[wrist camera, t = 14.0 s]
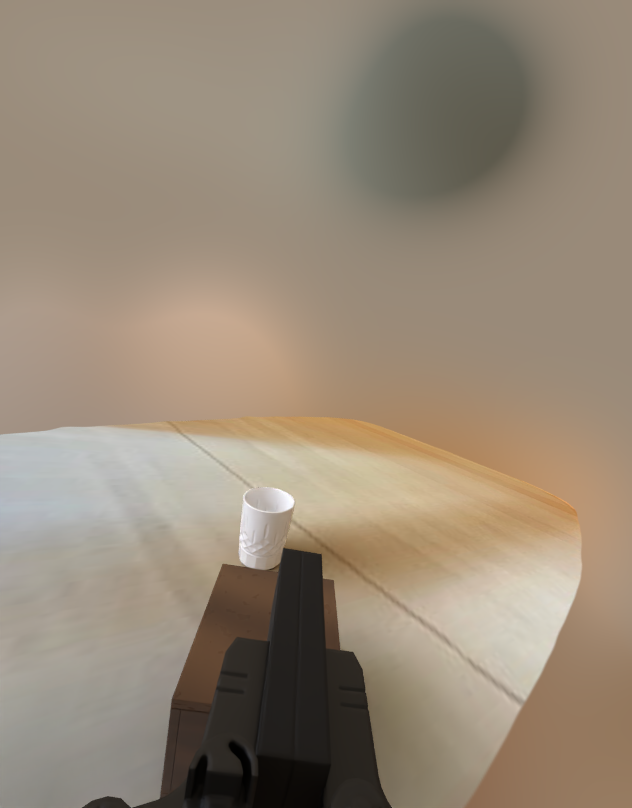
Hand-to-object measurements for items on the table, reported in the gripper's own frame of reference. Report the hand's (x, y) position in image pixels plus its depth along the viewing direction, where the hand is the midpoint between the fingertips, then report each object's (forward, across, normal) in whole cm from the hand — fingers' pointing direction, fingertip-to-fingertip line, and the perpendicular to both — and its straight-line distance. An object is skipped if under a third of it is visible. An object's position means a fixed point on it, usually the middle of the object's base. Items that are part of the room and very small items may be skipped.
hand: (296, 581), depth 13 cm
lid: (+15, 0, -18) cm, 23 cm away
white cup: (+37, -3, -27) cm, 46 cm away
